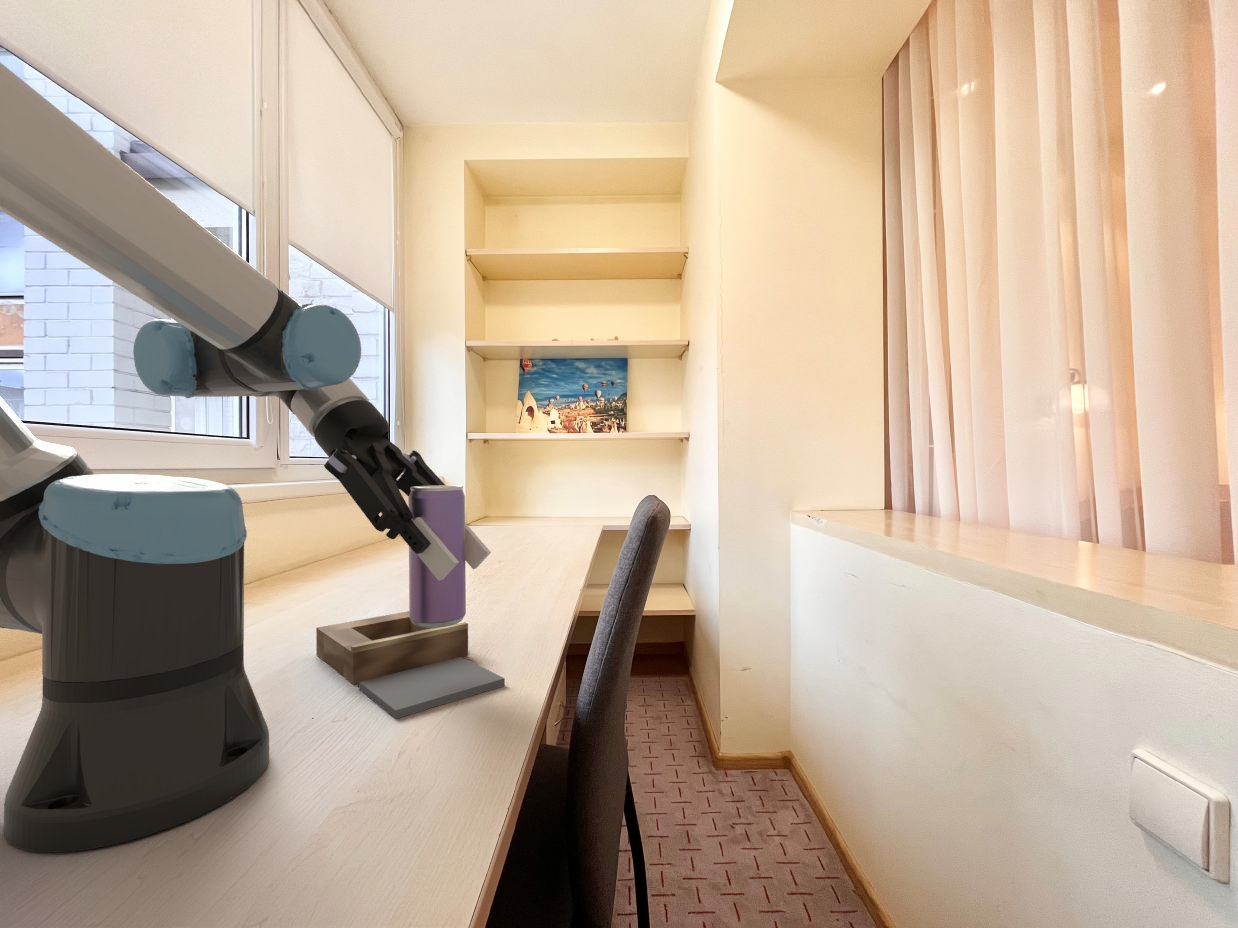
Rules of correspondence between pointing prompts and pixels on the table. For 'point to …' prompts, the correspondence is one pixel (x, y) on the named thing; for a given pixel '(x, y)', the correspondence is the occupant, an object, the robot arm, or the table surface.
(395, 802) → the table surface
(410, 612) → the beverage can
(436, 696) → the rubber mat
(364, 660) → the can holder
